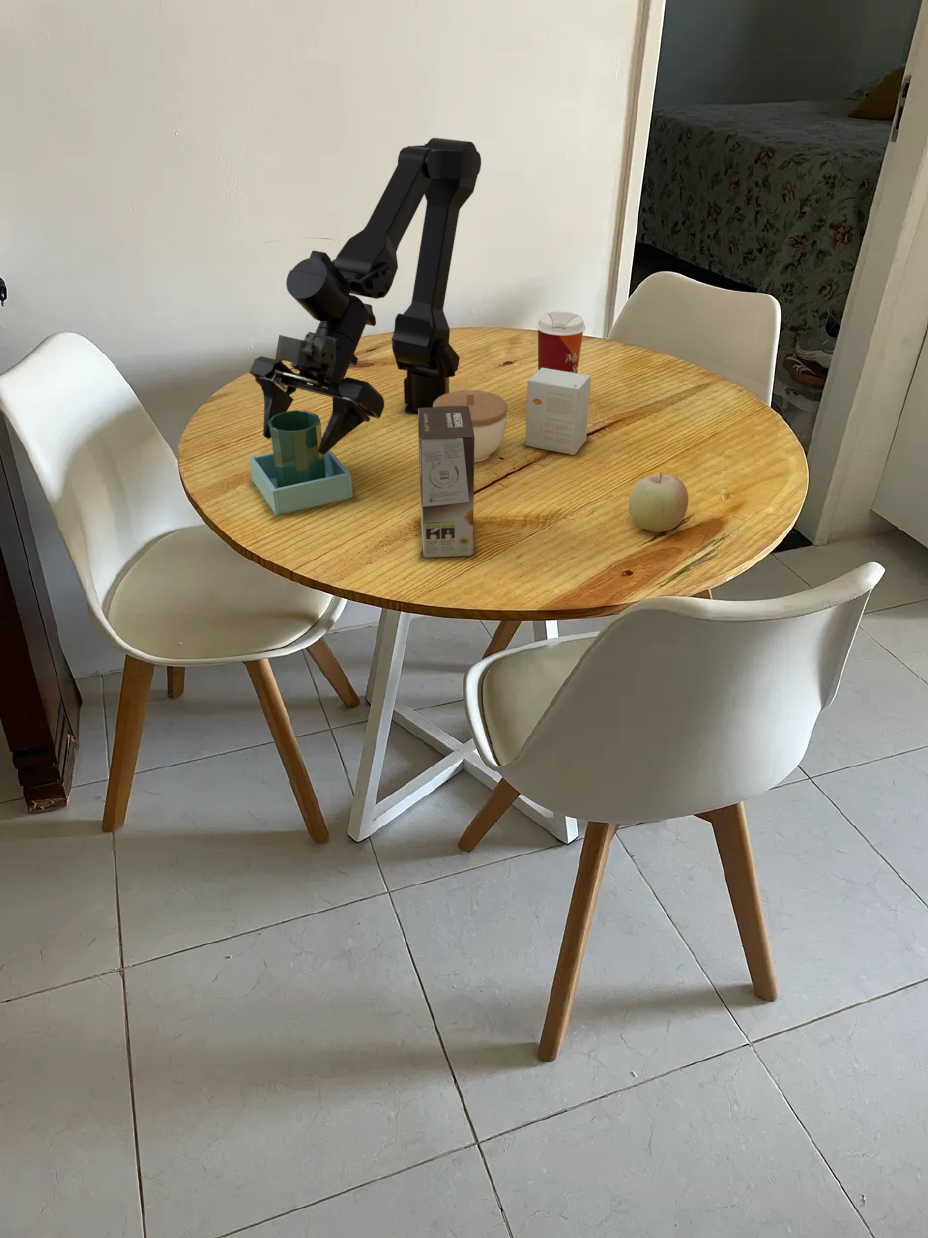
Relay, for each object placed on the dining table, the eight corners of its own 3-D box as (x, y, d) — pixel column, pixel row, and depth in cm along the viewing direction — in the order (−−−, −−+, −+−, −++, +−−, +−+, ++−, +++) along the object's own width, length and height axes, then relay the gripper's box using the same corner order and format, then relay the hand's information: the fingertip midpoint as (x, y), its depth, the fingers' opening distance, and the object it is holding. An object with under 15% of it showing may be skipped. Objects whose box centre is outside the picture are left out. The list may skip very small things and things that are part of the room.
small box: (586, 441, 140) (592, 374, 133) (574, 456, 136) (580, 388, 129) (537, 431, 142) (541, 365, 136) (523, 446, 138) (527, 379, 132)
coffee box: (474, 556, 114) (476, 437, 104) (423, 558, 113) (419, 439, 104) (468, 519, 121) (469, 404, 111) (419, 520, 121) (416, 405, 111)
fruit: (665, 547, 116) (674, 491, 111) (616, 527, 120) (622, 472, 115) (695, 523, 120) (705, 469, 116) (647, 505, 124) (654, 451, 119)
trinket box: (418, 455, 136) (417, 395, 130) (465, 431, 142) (465, 373, 137) (474, 477, 130) (475, 415, 125) (520, 451, 137) (523, 391, 131)
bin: (325, 467, 133) (323, 441, 130) (353, 500, 125) (351, 473, 123) (252, 483, 129) (249, 457, 126) (276, 518, 121) (272, 491, 119)
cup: (332, 479, 129) (326, 412, 123) (316, 502, 123) (309, 433, 117) (287, 474, 130) (279, 408, 124) (270, 497, 124) (260, 428, 118)
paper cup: (576, 414, 147) (583, 328, 139) (528, 410, 149) (533, 324, 140) (581, 395, 154) (588, 311, 145) (535, 391, 155) (540, 308, 146)
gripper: (249, 295, 119) (203, 405, 118) (367, 320, 112) (319, 437, 111) (293, 337, 130) (251, 438, 128) (404, 362, 122) (361, 470, 121)
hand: (293, 445), depth 122 cm, fingers open, 9 cm apart
